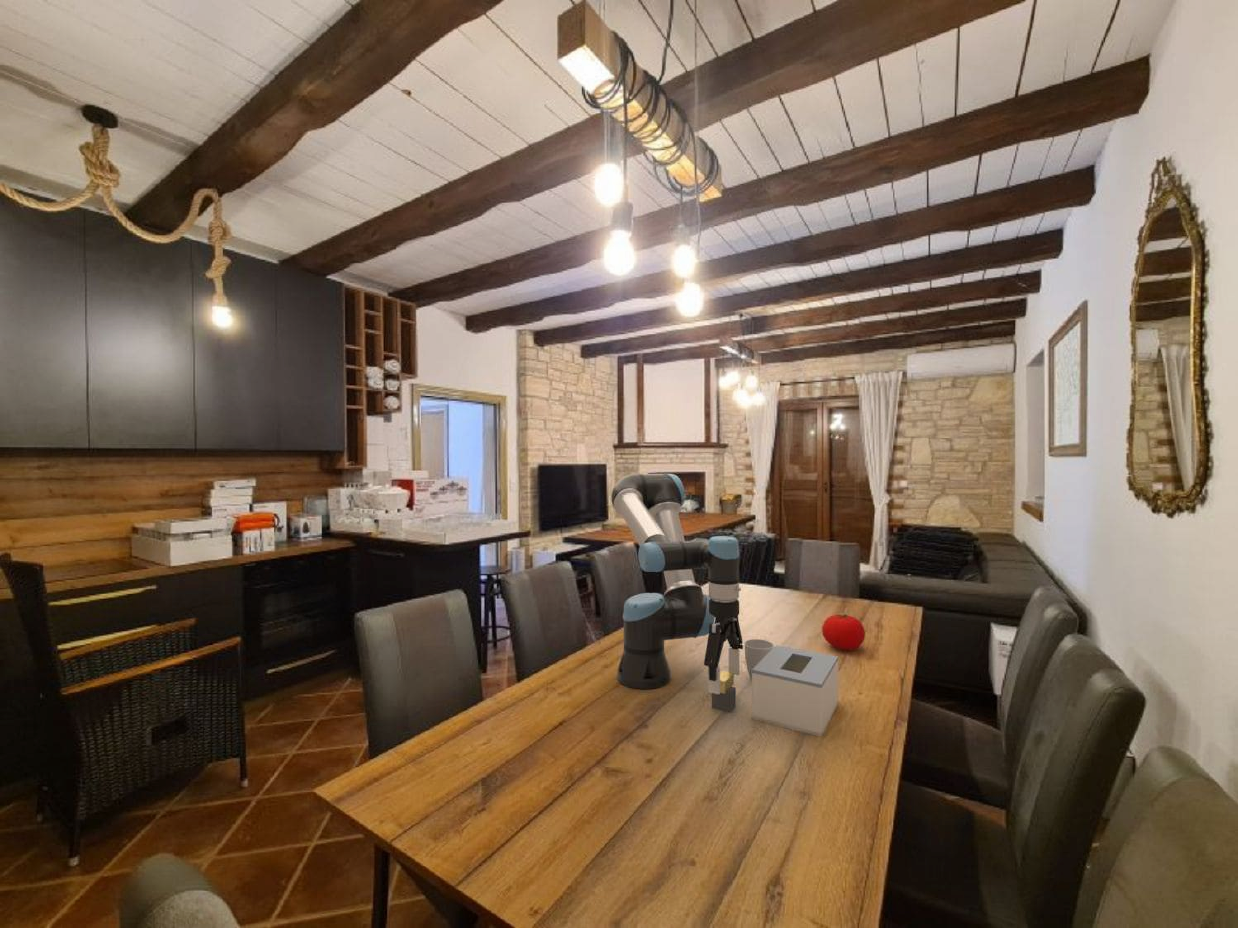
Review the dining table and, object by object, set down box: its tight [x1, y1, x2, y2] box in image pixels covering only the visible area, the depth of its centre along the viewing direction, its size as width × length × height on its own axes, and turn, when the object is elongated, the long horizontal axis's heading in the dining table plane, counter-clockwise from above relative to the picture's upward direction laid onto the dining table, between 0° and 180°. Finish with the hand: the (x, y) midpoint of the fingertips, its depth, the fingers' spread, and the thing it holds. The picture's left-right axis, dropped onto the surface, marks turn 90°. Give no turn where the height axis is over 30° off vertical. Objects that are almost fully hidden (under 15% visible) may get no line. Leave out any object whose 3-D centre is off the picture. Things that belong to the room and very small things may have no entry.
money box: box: [751, 644, 839, 738], centre depth 135 cm, size 16×20×12 cm
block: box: [711, 686, 737, 713], centre depth 137 cm, size 5×4×5 cm
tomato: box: [821, 614, 866, 651], centre depth 179 cm, size 12×13×11 cm
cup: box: [743, 638, 775, 681], centre depth 154 cm, size 8×8×10 cm
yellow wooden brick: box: [720, 670, 735, 694], centre depth 137 cm, size 3×6×3 cm, turn 148°
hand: (724, 683), depth 136 cm, fingers open, 13 cm apart
